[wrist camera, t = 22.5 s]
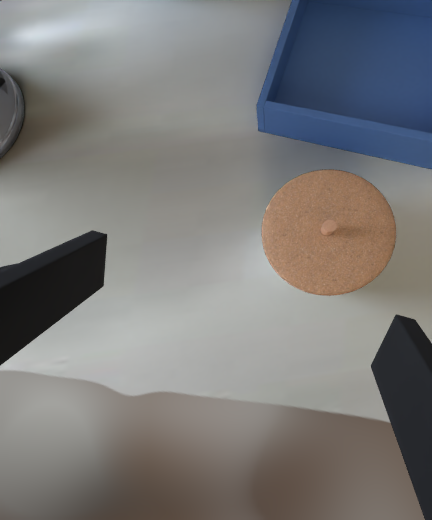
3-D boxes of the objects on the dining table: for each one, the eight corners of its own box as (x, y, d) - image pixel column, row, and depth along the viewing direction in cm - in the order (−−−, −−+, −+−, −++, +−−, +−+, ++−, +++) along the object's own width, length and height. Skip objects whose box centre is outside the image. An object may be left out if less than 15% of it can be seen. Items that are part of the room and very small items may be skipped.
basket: (258, 131, 37) (256, 105, 32) (302, -3, 38) (307, -46, 34) (441, 171, 33) (469, 149, 28) (483, 20, 34) (516, -25, 30)
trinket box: (243, 250, 35) (233, 230, 26) (310, 179, 35) (323, 134, 26) (319, 319, 33) (337, 324, 24) (391, 243, 33) (437, 219, 24)
